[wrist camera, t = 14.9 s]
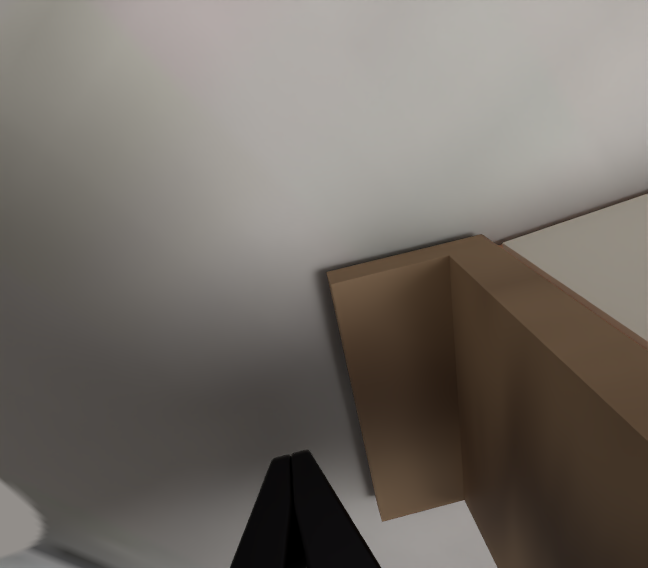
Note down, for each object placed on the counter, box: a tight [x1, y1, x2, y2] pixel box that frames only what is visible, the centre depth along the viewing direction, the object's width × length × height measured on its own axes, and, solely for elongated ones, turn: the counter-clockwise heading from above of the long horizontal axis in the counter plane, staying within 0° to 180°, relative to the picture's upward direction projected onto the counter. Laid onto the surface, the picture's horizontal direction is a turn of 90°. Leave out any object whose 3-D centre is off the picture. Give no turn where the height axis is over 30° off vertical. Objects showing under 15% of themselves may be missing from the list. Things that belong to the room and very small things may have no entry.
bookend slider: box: [326, 234, 648, 568], centre depth 8 cm, size 8×4×6 cm, turn 11°
